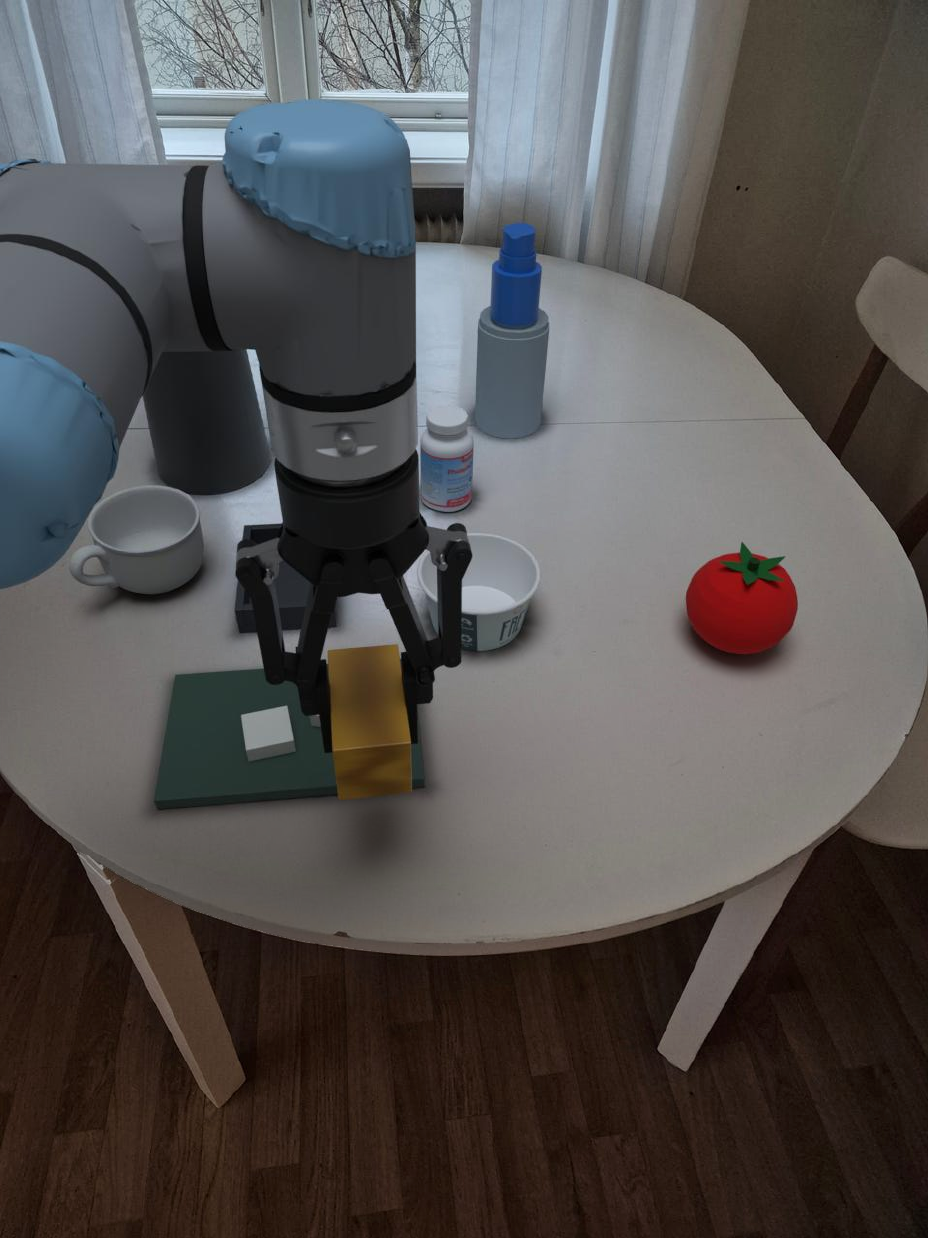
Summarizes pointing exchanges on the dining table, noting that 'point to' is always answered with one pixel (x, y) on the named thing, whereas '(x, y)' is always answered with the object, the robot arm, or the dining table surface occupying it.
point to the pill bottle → (446, 459)
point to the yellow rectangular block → (369, 722)
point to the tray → (288, 589)
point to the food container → (488, 590)
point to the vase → (206, 421)
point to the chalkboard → (241, 745)
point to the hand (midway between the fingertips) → (370, 732)
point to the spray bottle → (512, 341)
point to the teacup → (143, 540)
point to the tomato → (742, 602)
